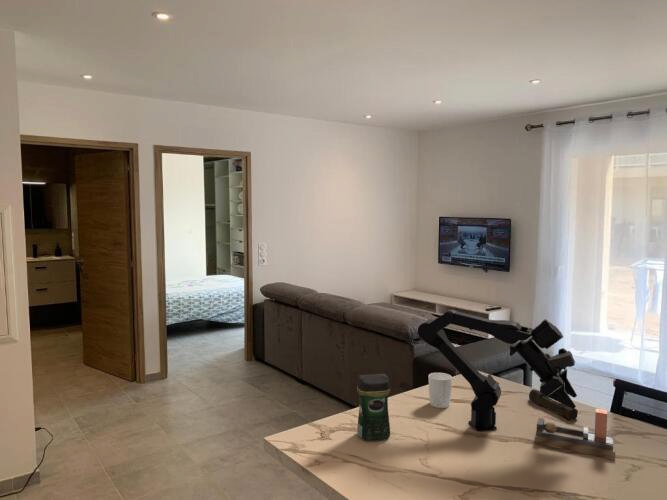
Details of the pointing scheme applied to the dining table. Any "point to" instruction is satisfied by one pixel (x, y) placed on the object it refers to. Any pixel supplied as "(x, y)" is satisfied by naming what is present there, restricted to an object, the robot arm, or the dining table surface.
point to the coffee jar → (373, 407)
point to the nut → (550, 427)
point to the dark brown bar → (552, 405)
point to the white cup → (440, 389)
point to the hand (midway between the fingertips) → (575, 402)
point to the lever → (599, 428)
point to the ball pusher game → (572, 441)
